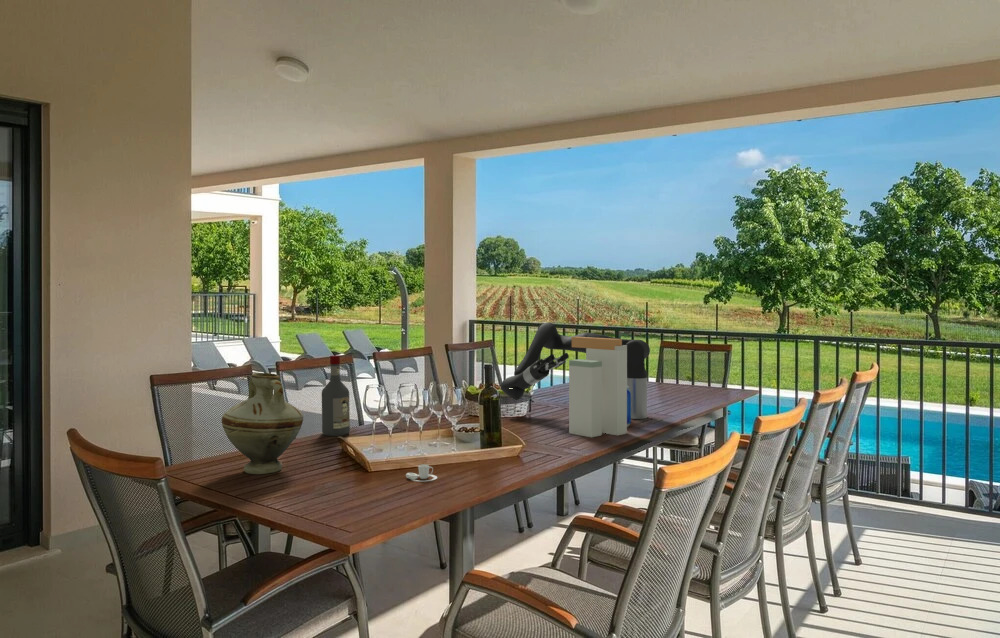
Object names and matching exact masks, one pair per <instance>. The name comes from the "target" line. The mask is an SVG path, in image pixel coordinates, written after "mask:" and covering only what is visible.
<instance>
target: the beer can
mask: <svg viewBox="0 0 1000 638" xmlns="http://www.w3.org/2000/svg"><path fill="white" fill-rule="evenodd" d="M628 387H629V386H627V428H628V427H629V426H630V425H631V423H632V419H631V391H630V389H629V388H628Z"/></svg>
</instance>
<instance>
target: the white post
mask: <svg viewBox="0 0 1000 638" xmlns="http://www.w3.org/2000/svg"><path fill="white" fill-rule="evenodd" d="M585 360H594V361H602V434H605V433H606V435H611V436H620V435H626V434H628V431H627V430H628V427H627V345H622V346H615V350H606V349H592V348H586V353H585Z"/></svg>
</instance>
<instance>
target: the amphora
mask: <svg viewBox="0 0 1000 638" xmlns="http://www.w3.org/2000/svg"><path fill="white" fill-rule="evenodd" d="M280 378H281V376H280V375H279V374H276V373H270V372H268V373H267V372H255V373H252V374H250V380H249V382H248V397H247V399H246V400H243V401H241V402H239V403H237V404H235V405H233V406H232V407H230V408H229V409H228V410H226V411H225V412H224V413H223V414H222V417H221V424H222V425H221V426H222V429H223V431H224V433H225V435H226V437H227V438H228V440H229V442H230V443H231V444H232V445H233V446H234V447H235V449H237V451H239V452H240V453H241V454H242V455H243V456H244V457H246V458H248V460H250V462H247V463H246V464H245V465H244V466H243V471H244V472H245V473H246V474H249V475H250V474H251V475H266V474H273V473H277V472H279V471H281V470H282V469H283V463H282V462H281V461H280V460H278V459H279V457H281V456H282V455H283V454H284V453H285V451H286V450H287V449H288V448H289V447H290V445H291V444H292V443H293V442H294V441H295V439H296V438H297V436H298V434H299V432H300V430H301V429H302V425H303V421H304V414H303V412H302V411H301V410H300V409H299V408H297V407H296V406H294V405H292V404H291V403H289V402H287V401H285V399H284V387H283V384H282V382H281V381H280Z"/></svg>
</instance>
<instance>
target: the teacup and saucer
mask: <svg viewBox="0 0 1000 638" xmlns="http://www.w3.org/2000/svg"><path fill="white" fill-rule="evenodd" d="M430 469H432V470H431V472H430ZM433 471H434V467H432V466H430V464H428V463H427V464H425V463H423V464H419V465H418V473H414V472H407V473H406V474H405V477H406V478H407V479H408V480H410V481H413V482H421V483H422V482H433V481H435V480H437V479H438V476H437V475H435V474H433ZM429 477H432V479H431V478H430V479H428V478H429ZM418 479H421V480H418ZM427 479H428V480H427Z"/></svg>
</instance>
